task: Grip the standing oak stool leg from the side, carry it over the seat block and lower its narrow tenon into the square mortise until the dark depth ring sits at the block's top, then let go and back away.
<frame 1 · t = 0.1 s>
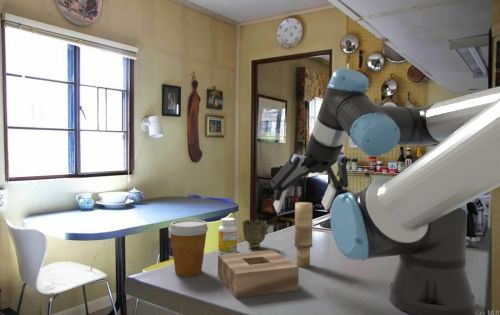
hand: (301, 207, 96), 15 cm above the counter, tool tilted 35°, fingers open, 13 cm apart
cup: (254, 248, 115), on the counter
leg: (303, 265, 98), on the counter
supplement bottle: (227, 252, 110), on the counter
disposable coffee cup: (188, 273, 92), on the counter
seat block: (256, 282, 85), on the counter
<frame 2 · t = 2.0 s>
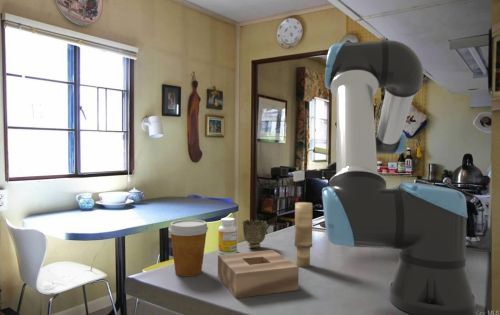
hand: (317, 177, 106), 22 cm above the counter, tool horizontal, fingers open, 13 cm apart
nothing on the counter moved.
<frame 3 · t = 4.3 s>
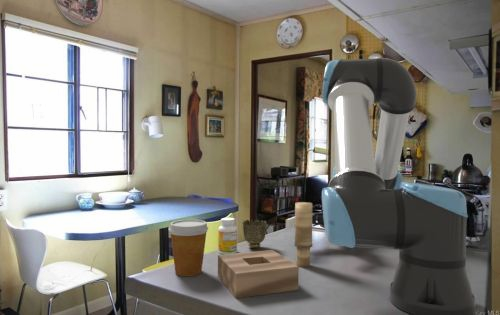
hand: (309, 227, 103), 9 cm above the counter, tool horizontal, fingers open, 13 cm apart
nothing on the counter moved.
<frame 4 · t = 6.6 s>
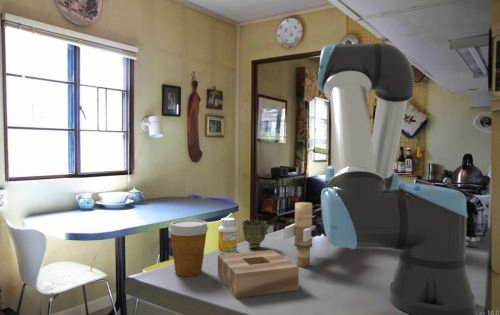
hand: (295, 234, 93), 9 cm above the counter, tool horizontal, fingers closed on leg, 4 cm apart
leg: (303, 265, 98), on the counter, touching gripper
everything else where it was.
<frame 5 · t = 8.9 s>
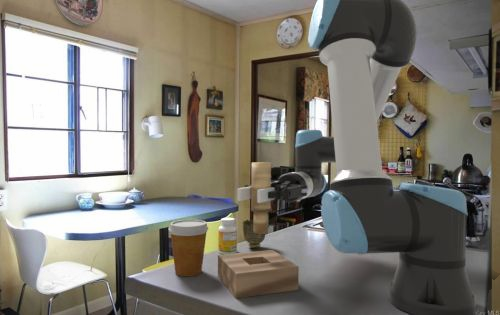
hand: (248, 195, 82), 20 cm above the counter, tool horizontal, fingers closed on leg, 4 cm apart
leg: (260, 232, 87), point 11 cm above the counter, touching gripper
everything else where it was.
when the fingers open (11 cm above the counter, at t = 11.5 s): leg drops 2 cm, resting in seat block.
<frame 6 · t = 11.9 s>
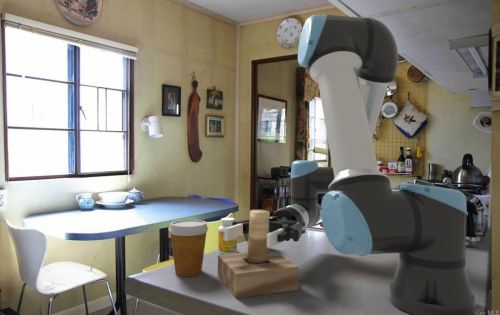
hand: (246, 237, 81), 11 cm above the counter, tool horizontal, fingers open, 10 cm apart
leg: (256, 282, 85), resting in seat block
everything else where it was.
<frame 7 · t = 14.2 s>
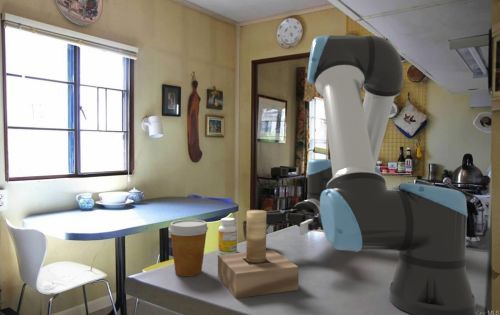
hand: (275, 226, 93), 11 cm above the counter, tool horizontal, fingers open, 13 cm apart
nothing on the counter moved.
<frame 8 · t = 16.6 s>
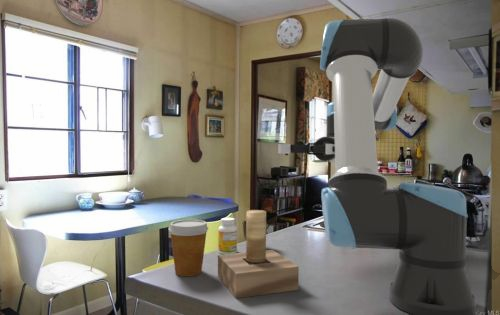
hand: (302, 148, 102), 30 cm above the counter, tool horizontal, fingers open, 13 cm apart
nothing on the counter moved.
at the end: leg 0.1 cm off-centre on the seat block, point 0.0 cm above the seat block's base; leg tilted 0°; the gripper is holding nothing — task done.
